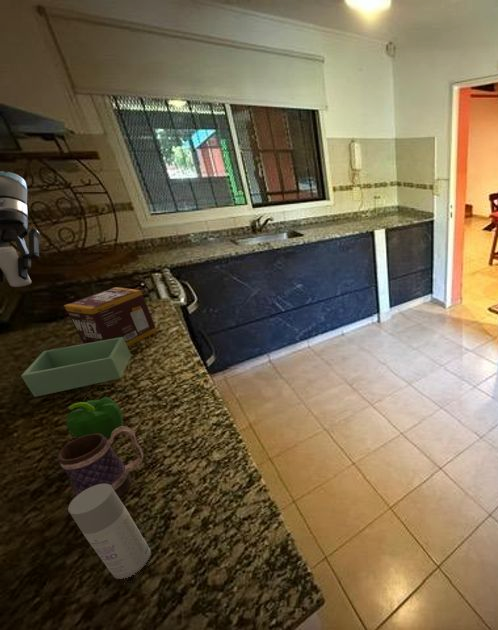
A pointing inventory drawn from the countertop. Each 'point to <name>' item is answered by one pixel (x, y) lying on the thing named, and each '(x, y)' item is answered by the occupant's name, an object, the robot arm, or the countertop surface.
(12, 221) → the robot arm
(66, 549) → the countertop surface
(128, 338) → the supplement box
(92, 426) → the bell pepper
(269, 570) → the countertop surface
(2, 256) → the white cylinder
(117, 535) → the container
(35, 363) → the basin
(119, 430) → the mug
